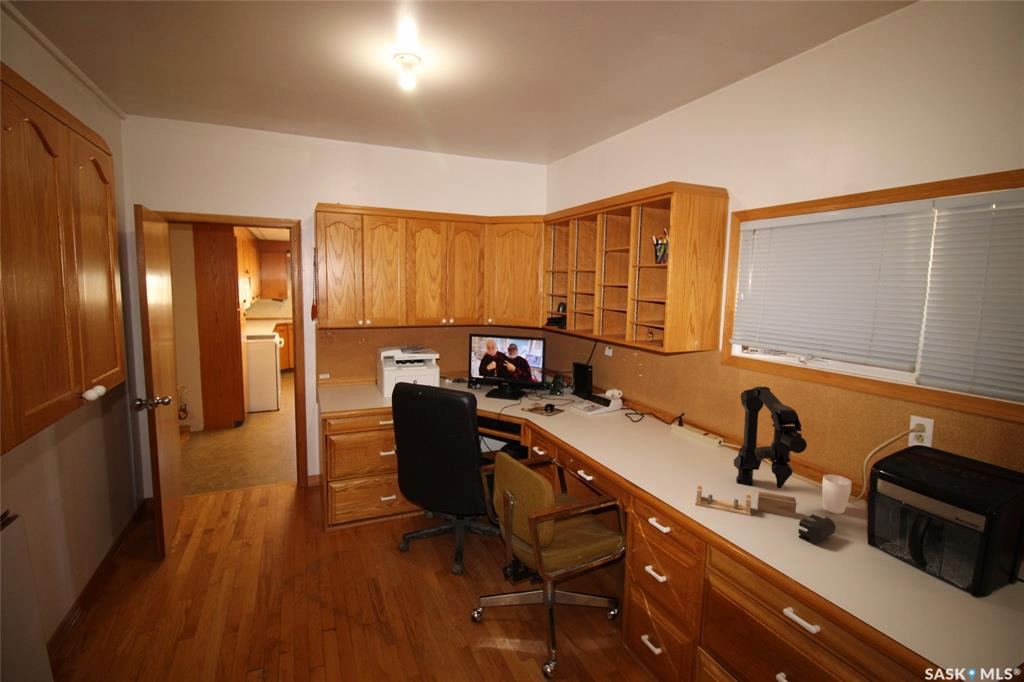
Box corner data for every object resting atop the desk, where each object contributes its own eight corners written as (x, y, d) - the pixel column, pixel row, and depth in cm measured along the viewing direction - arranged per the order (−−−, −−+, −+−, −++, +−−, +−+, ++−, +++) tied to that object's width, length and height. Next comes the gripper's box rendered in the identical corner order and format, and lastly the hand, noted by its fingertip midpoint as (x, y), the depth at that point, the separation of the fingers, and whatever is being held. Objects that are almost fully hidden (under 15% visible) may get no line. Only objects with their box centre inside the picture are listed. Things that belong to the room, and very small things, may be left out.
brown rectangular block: (757, 505, 184) (758, 491, 184) (793, 512, 180) (795, 497, 179) (757, 511, 180) (759, 496, 179) (794, 519, 175) (796, 503, 174)
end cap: (819, 548, 157) (821, 529, 156) (797, 538, 163) (799, 519, 162) (834, 539, 162) (837, 520, 161) (812, 529, 168) (814, 511, 167)
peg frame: (696, 497, 191) (697, 483, 190) (750, 507, 183) (751, 493, 182) (695, 504, 184) (696, 490, 183) (750, 516, 176) (752, 501, 176)
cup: (816, 509, 182) (819, 479, 180) (822, 501, 188) (826, 472, 186) (844, 518, 176) (848, 487, 174) (850, 509, 182) (854, 479, 180)
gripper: (756, 431, 187) (752, 469, 190) (758, 447, 171) (754, 489, 173) (789, 435, 183) (785, 474, 185) (794, 452, 166) (790, 495, 168)
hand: (778, 483), depth 178 cm, fingers open, 9 cm apart
